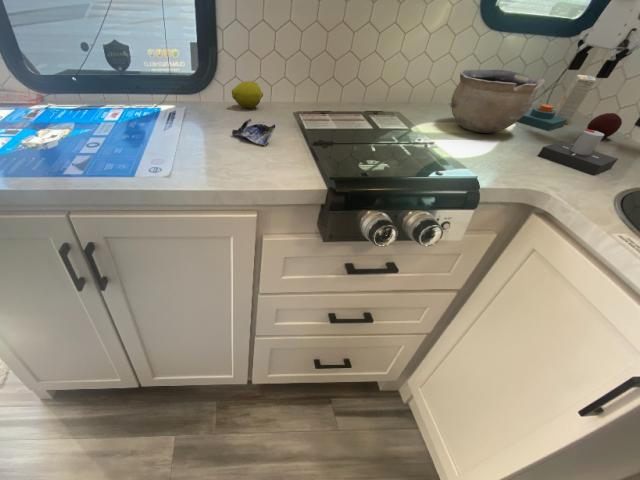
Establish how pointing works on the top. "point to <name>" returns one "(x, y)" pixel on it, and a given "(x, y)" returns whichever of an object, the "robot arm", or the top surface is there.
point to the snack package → (255, 132)
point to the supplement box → (574, 96)
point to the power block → (542, 119)
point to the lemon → (247, 94)
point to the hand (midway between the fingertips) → (586, 73)
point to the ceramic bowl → (492, 99)
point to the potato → (605, 124)
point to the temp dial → (587, 142)
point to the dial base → (577, 158)
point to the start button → (545, 108)
